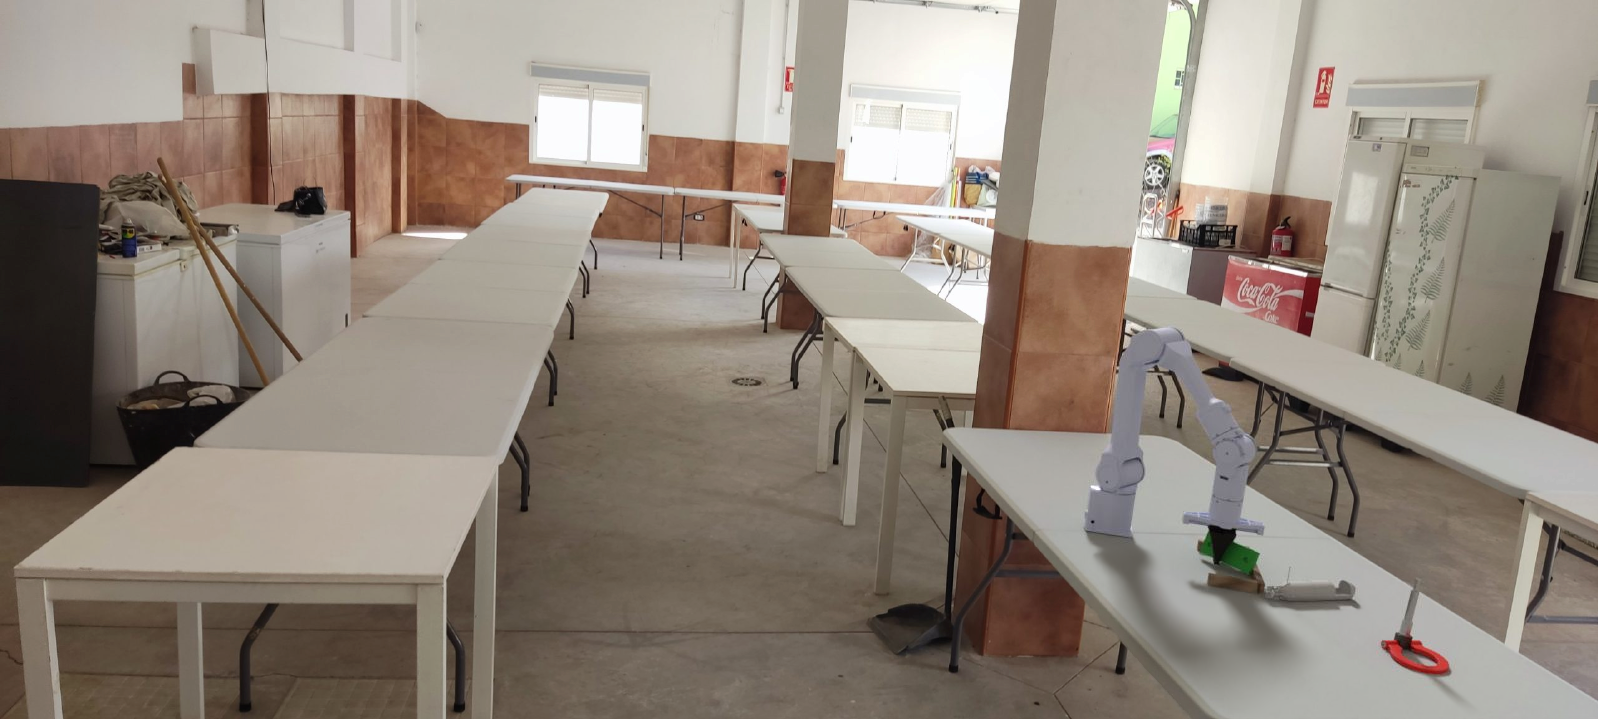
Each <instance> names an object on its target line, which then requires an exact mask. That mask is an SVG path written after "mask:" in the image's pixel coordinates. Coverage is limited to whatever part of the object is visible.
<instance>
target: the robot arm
mask: <svg viewBox="0 0 1598 719" xmlns="http://www.w3.org/2000/svg"><path fill="white" fill-rule="evenodd" d="M1193 355H1194V354H1193V352H1192V346H1191V343H1189V341H1188V340H1186V337H1185V335H1184V333H1183V331H1181V329H1179V328H1177V327H1176V326H1172V325H1171V326H1166V327H1160V328H1154V329H1153V328H1152V329H1148V328H1147V329H1143V330H1141V331H1139V332H1138V333H1136V334H1134V335H1132V336H1131V337H1130V343H1129V344H1128V346H1127V347H1126V349H1125V351H1124V352H1123V353H1122V354H1121V356H1120V359H1119V363H1118V364H1119V367H1118V373H1117V381H1116V382H1117V383H1116V391H1115V400H1114V401H1115V402H1114V411H1113V419H1112V427H1111V428H1112V429H1111V435H1110V436H1111V437H1110V438H1111V439H1110V443H1109V444H1108V445H1107V446H1106V447H1105V449H1104V450H1103V451H1102V453H1101V458H1100V461H1099V463H1098V464H1097V466H1096V469H1095V480H1096V481H1097V484H1098V485H1097V484H1096V485H1093V484H1090V486H1089V491H1088V497H1087V505H1086V509H1085V511H1084V522H1085V523H1084V524H1085V526H1084V527H1085V531H1086V532H1092V533H1098V534H1105V535H1110V536H1111V535H1112V536H1118V537H1124V538H1129V539H1130V538H1132V539H1133V538H1134V532H1133V526H1132V522H1133V516H1134V515H1133V514H1134V509H1135V508H1134V507H1135V501H1136V493H1137V489H1138V484H1140V483H1141V482H1142V481H1143V480H1144V478H1145V476H1146V467H1145V462H1144V451H1143V450H1142V449H1141V447H1140V445H1139V442H1140V434H1141V433H1140V432H1141V425H1142V424H1141V423H1142V415H1143V408H1144V407H1143V406H1144V399H1145V391H1146V390H1145V389H1146V383H1147V382H1146V381H1147V372H1148V371H1149V370H1150V369H1152V368H1153V367H1155V366H1157V367H1159V368H1162V369H1165V370H1169V371H1171V372H1174V373H1175V375H1176V376H1177V377H1178V379H1179V380H1180V382H1181V384H1182V385H1183V386H1184V388H1185V390H1187V392H1188V394H1189V395H1190V397H1191V398H1192V400H1193V401H1194V403H1195V404H1196V406H1197V408H1196V413H1195V416H1196V418H1197V419H1198V421H1199V423H1200V424H1201V426H1202V429H1203V430H1204V431H1205V433H1206V435H1207V437H1208V438H1209V440H1210V442H1211V444H1212V445H1213V446H1214V447H1215V448H1212V457H1213V460H1214V461H1215V466H1216V467H1215V472H1214V477H1213V484H1212V490H1211V495H1210V501H1209V506H1208V512H1207V511H1205V512H1204V511H1187V510H1184V511H1183V513H1182V518H1181V521H1182V524H1185V525H1189V524H1191V525H1192V524H1193V525H1199V526H1205V527H1207V528H1208V531H1209V533H1210V537H1211V542H1212V548H1213V558H1212V563H1213V565H1215V566H1220V563H1221V559H1222V557H1223V555H1224V553H1225V551H1226V550H1227V548H1228V547H1229V545H1230V544H1231V543H1232V542H1233V541H1234V542H1235V540H1236V538H1237V535H1238V534H1237V531H1238V532H1245V533H1250V534H1251V533H1252V534H1256V535H1257V536H1264V533H1265V527H1266V526H1265V524H1264V522H1260V521H1255V520H1251V519H1246V518H1243V517H1241V516H1242V510H1243V505H1244V499H1245V495H1246V487H1247V481H1248V476H1249V475H1248V474H1249V468H1250V463H1251V462H1253V461H1254V460H1255V459H1256V457H1257V455H1258V447H1257V443H1256V441H1255V438H1253V436H1251V435H1249V434H1248V433H1245V431H1244V429H1243V428H1240V426H1239V424H1238V422H1237V421H1236V419H1235V418H1234V416H1233V414H1232V413H1231V412H1232V411H1233V408H1231V406H1230V404H1226V402H1225V401H1224V400H1221V399H1220V398H1219V399H1218V398H1217V397H1214V394H1213V393H1212V391H1211V388H1210V387H1209V385H1208V383H1207V381H1206V379H1205V377H1204V375H1203V373H1202V371H1201V369H1200V367H1199V364H1198V363H1197V361H1196V360H1195V358H1194V356H1193Z"/></svg>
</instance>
